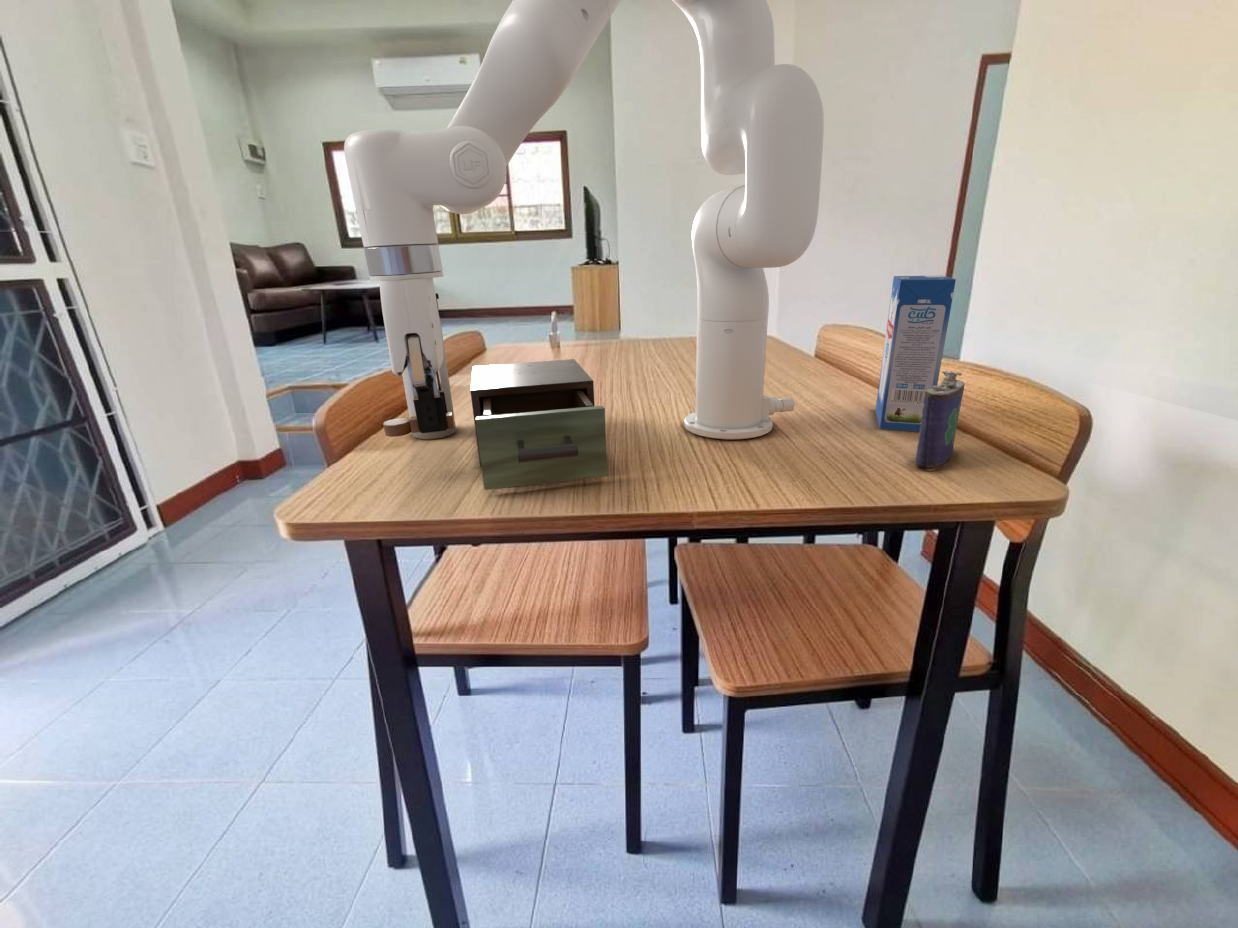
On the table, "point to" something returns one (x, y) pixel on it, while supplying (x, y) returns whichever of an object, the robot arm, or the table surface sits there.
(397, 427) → the round-ended wooden bar
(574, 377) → the cabinet
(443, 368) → the travel mug
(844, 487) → the table surface
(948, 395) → the flask
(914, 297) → the milk carton
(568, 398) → the drawer
